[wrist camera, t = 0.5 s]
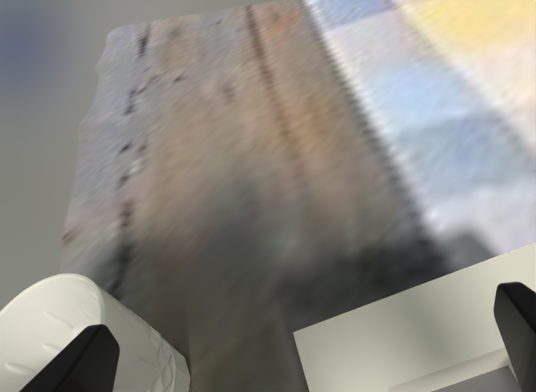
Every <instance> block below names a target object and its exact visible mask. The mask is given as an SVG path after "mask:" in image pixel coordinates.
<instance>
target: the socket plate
mask: <svg viewBox="0 0 536 392" xmlns="http://www.w3.org/2000/svg"><path fill="white" fill-rule="evenodd" d="M506 282H521V283H523V284H525V285H526V286H527V287H529V288H530V289H532V290H533V291H535V292H536V243H535V242H533V243H531V244H528V245H525V246H523V247H520V248H517V249H515V250H512V251H509V252H507V253H504V254H501V255H499V256H496V257H493V258H491V259H488V260H485V261H483V262H480V263H477V264H475V265H472V266H469V267H466V268H464V269H461V270H458V271H456V272H453V273H450V274H448V275H445V276H442V277H440V278H437V279H434V280H432V281H429V282H426V283H424V284H421V285H418V286H416V287H413V288H410V289H408V290H405V291H402V292H400V293H397V294H394V295H392V296H389V297H386V298H384V299H381V300H378V301H376V302H373V303H370V304H368V305H365V306H362V307H360V308H357V309H354V310H352V311H349V312H346V313H344V314H341V315H338V316H336V317H333V318H330V319H328V320H325V321H322V322H319V323H317V324H314V325H311V326H309V327H306V328H303V329H301V330H298V331H295V332H293V335H294V338H295V342H296V345H297V349H298V353H299V356H300V360H301V363H302V367H303V370H304V374H305V377H306V381H307V385H308V388H309V392H522V390H521V388H520V385H519V383H518V380H517V378H516V375H515V372H514V370H513V367H512V364H511V361H510V359H509V356H508V353H507V351H506V348H505V345H504V342H503V340H502V337H501V334H500V332H499V329H498V326H497V323H496V321H495V317H494V312H493V308H494V301H495V295H496V289H497V286H498V285H499V284H500V283H506Z"/></svg>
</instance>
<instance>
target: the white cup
mask: <svg viewBox="0 0 536 392" xmlns="http://www.w3.org/2000/svg"><path fill="white" fill-rule="evenodd" d="M97 324H104V325H106V326H107V327H108V328H109V330H110V331H111V333H112V334H113V336H114V337H115V339H116V340H117V342H118V344H119V347H120V355H119V360H118V366H117V371H116V377H115V382H114V387H113V392H189V388H190V379H191V377H190V374H189V370H188V367H187V364H186V360H185V357H184V356H183V355H182V354H181V353H180V352H179V351H178V350H177V349H175V348H174V347H173V346H172V345H171V344H170V343H169V342H167V341H166V340H164V339H163V338H162V336H161V334H160V333H158V332H157V331H156V330H155V329H153V328H152V327H151V326H150V325H149V324H148V323H146V322H145V321H144V320H143V319H141V318H140V317H139V316H138V315H136V314H135V313H134V312H132V311H131V310H130V309H128V308H127V307H126V306H124V305H123V304H122V303H120V302H119V301H118V300H117V299H115V298H114V297H113V296H111V295H110V294H109V293H107V292H106V291H105V290H104V289H102V288H101V287H100V286H98V285H97V284H96V283H95V282H93V281H92V280H91V279H89V278H88V277H86V276H83V275H80V274H75V273H63V274H58V275H54V276H50V277H48V278H45V279H43V280H41V281H39V282H37V283H35V284H33V285H32V286H30V287H28V288H27V289H25V290H24V291H23V292H21V293H20V294H19V295H17V296H16V297H15V298H14V299H13V300H12V301H10V302H9V303H8V304H7V305H6V306H5V307H4V308H3V309H2V310H1V312H0V392H19V391H20V390H21V389H22V388H23V387H24V386H25V385H26V384H27V383H28V382H29V381H30V380H31V379H33V378H34V377H35V376H36V375H37V374H38V373H39V372H40V371H41V370H42V369H43V368H44V367H45V366H46V365H47V364H48V363H49V362H50V361H51V360H52V359H53V358H54V357H55V356H56V355H57V354H59V353H60V352H61V351H62V350H63V349H64V348H65V347H66V346H67V345H68V344H69V343H70V342H71V341H72V340H73V339H74V338H75V337H76V336H77V335H78V334H79V333H80V332H81V331H82V330H83V329H85V328H86V327H87V326H90V325H97Z"/></svg>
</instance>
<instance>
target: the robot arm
mask: <svg viewBox="0 0 536 392" xmlns="http://www.w3.org/2000/svg"><path fill="white" fill-rule="evenodd" d="M493 312H494V317H495V321H496V323H497V326H498V329H499V332H500V334H501V337H502V340H503V342H504V345H505V348H506V351H507V353H508V356H509V359H510V361H511V364H512V367H513V370H514V372H515V375H516V378H517V380H518V383H519V385H520V388H521V390H522V392H536V292H535V291H533V290H532V289H530V288H529V287H527V286H526V285H525V284H523V283H521V282H506V283H500V284H499V285H498V286H497V289H496V295H495V301H494V308H493ZM119 355H120V347H119V344H118V342H117V340H116V339H115V337H114V336H113V334H112V333H111V331H110V330H109V328H108V327H107V326H106V325H104V324H97V325H90V326H87V327H86V328H85V329H83V330H82V331H81V332H80V333H79V334H78V335H77V336H76V337H75V338H74V339H73V340H72V341H71V342H70V343H69V344H68V345H67V346H66V347H65V348H64V349H63V350H62V351H61V352H60V353H59V354H57V355H56V356H55V357H54V358H53V359H52V360H51V361H50V362H49V363H48V364H47V365H46V366H45V367H44V368H43V369H42V370H41V371H40V372H39V373H38V374H37V375H36V376H35V377H34V378H33V379H31V380H30V381H29V382H28V383H27V384H26V385H25V386H24V387H23V388H22V389H21V390H20V391H19V392H113V387H114V382H115V377H116V371H117V366H118V360H119Z"/></svg>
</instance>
